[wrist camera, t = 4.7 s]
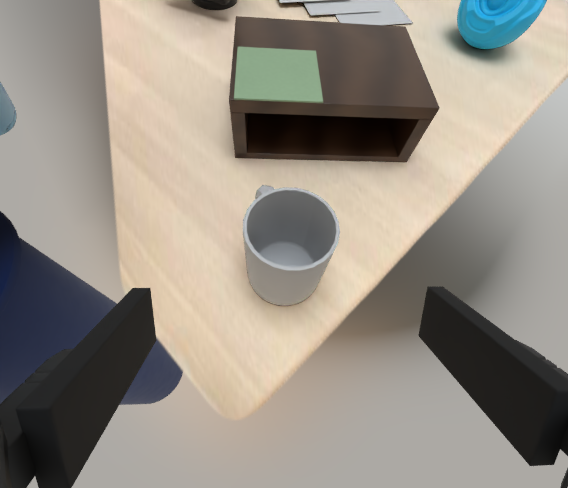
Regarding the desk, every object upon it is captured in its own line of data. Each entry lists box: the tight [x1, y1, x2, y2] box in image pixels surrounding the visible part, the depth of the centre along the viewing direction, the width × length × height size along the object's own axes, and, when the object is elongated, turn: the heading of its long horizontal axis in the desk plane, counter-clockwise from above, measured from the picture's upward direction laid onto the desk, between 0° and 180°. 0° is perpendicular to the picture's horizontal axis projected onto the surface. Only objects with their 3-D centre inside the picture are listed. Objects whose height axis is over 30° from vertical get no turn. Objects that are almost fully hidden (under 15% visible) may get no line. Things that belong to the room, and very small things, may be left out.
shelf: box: [229, 16, 439, 162], centre depth 37 cm, size 22×16×8 cm
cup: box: [243, 185, 340, 305], centre depth 26 cm, size 7×10×9 cm
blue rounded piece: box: [457, 0, 547, 49], centre depth 48 cm, size 12×11×12 cm
